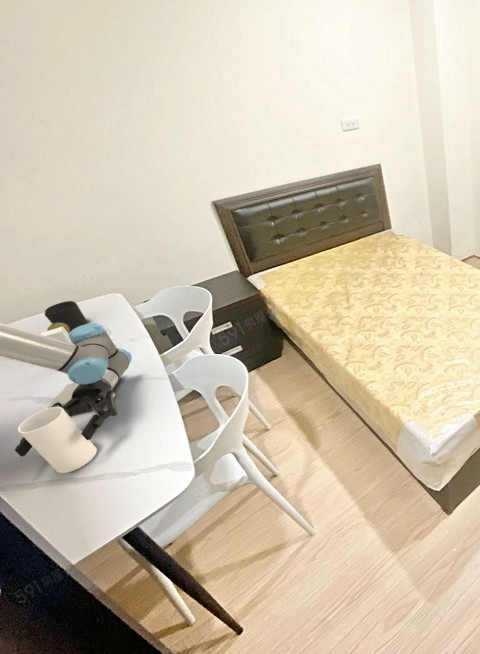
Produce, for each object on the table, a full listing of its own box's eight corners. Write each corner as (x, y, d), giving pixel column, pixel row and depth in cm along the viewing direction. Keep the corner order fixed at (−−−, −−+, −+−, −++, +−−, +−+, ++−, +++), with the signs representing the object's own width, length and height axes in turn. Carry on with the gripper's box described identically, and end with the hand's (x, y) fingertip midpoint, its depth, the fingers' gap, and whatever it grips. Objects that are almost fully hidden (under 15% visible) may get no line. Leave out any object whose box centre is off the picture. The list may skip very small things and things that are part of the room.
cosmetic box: (82, 351, 149) (63, 325, 143) (80, 357, 146) (61, 331, 140) (60, 358, 146) (40, 332, 140) (58, 364, 143) (37, 338, 137)
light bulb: (62, 351, 149) (46, 330, 144) (57, 346, 152) (41, 326, 147) (81, 342, 154) (66, 321, 149) (75, 338, 156) (60, 318, 151)
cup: (55, 479, 103) (15, 438, 95) (57, 459, 108) (19, 419, 100) (97, 459, 107) (62, 419, 99) (97, 441, 113) (64, 401, 105)
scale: (44, 422, 120) (38, 414, 118) (71, 390, 131) (65, 383, 130) (101, 409, 123) (95, 401, 122) (122, 378, 135) (117, 371, 133)
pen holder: (95, 320, 167) (81, 300, 162) (75, 333, 159) (61, 313, 154) (72, 321, 167) (58, 301, 162) (51, 335, 159) (36, 314, 154)
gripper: (150, 385, 124) (119, 439, 107) (51, 408, 117) (0, 469, 100) (138, 367, 120) (104, 420, 103) (35, 390, 114) (-21, 450, 96)
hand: (53, 444), depth 101 cm, fingers open, 13 cm apart
